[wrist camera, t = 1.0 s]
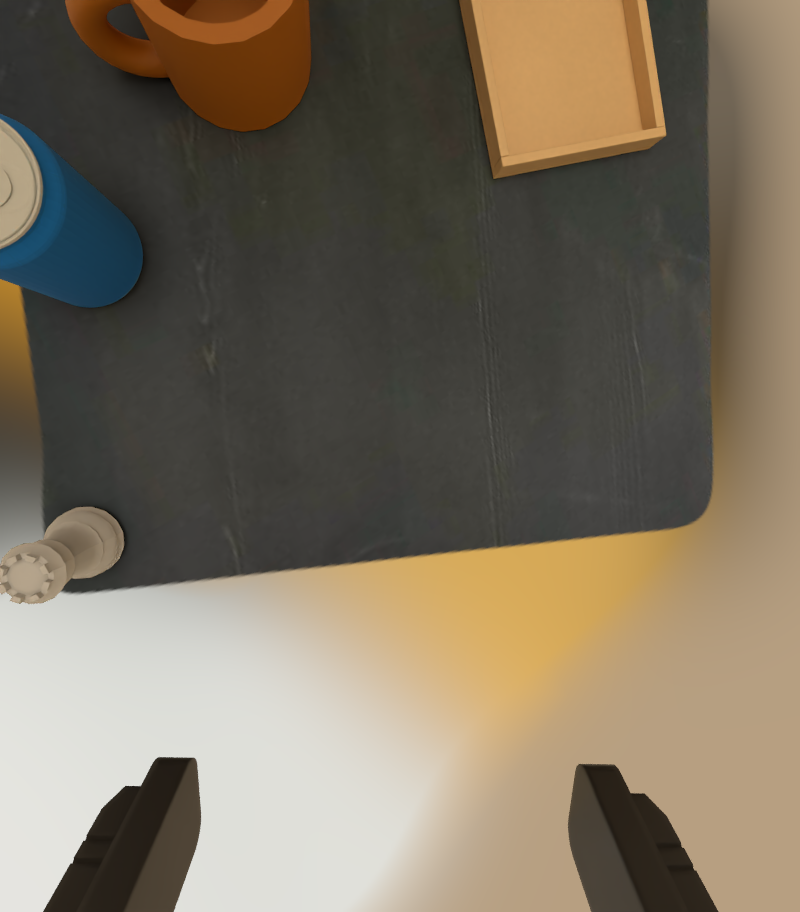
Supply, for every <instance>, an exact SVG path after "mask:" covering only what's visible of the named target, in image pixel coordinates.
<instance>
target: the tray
mask: <svg viewBox="0 0 800 912" xmlns="http://www.w3.org/2000/svg"><path fill="white" fill-rule="evenodd" d="M459 3H460V8H461V13H462V19H463V24H464V29H465V34H466V39H467V44H468V50H469V55H470V60H471V65H472V70H473V75H474V81H475V86H476V91H477V96H478V101H479V106H480V112H481V117H482V122H483V127H484V132H485V137H486V143H487V148H488V153H489V158H490V163H491V168H492V174H493V178H494V179H496V178H501V177H506V176H511V175H517V174H522V173H527V172H532V171H537V170H542V169H547V168H553V167H558V166H563V165H568V164H573V163H578V162H583V161H589V160H594V159H599V158H604V157H609V156H614V155H619V154H625V153H630V152H635V151H640V150H645V149H649V148H650V147H652V146H653V145H654V144H655V143H657V142H658V141H659V140H661V139H662V138H663V137H665V136H666V130H665V122H664V115H663V109H662V102H661V96H660V89H659V82H658V76H657V69H656V63H655V56H654V50H653V43H652V36H651V30H650V23H649V17H648V10H647V3H646V0H459Z"/></svg>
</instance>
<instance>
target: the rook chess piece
mask: <svg viewBox="0 0 800 912" xmlns="http://www.w3.org/2000/svg"><path fill="white" fill-rule="evenodd" d="M123 548H124V537H123V531H122V529H121V527H120V526H119V524H118V522H117V520H116V519H114V518H113V517H112V516H111V515H110V514H108V513H107V512H106V511H103V510H100V509H97V508H94V507H77V508H74V509H72V510H70V511H68V512H65V513H63V514H62V515H61V516H59V517H57V518H56V519H55V520H54V522H53V523H52V524H51V525H50V526H49V527H48V528H47V530H46V533H45V536H44V538H43V540H39V541H37V542H34V543H24V544H21V545H19V546H16V547H14V548H12V549H11V550H10V551H9V552H8V553H7V554H6V555H5V556H4V557H3V558H2V561H1V564H0V582H1V584H0V593H1V594H3V593H5V592H7V593H8V594H9V595H11V596H12V598H11V600H10V601H12V602H16V603H19V604H20V603H22V602H25V603H28V604H35V603H44V602H46V601H48V600H50V599H53V598H54V597H55V596H56V595H57V594H58V593H59V592H60V591H61V590H62V589H63V587H64V585H65V584H66V583H67V582H68V581H69V580H70V579H71V578H74V579H76V578H91V577H93V576H95V575H98V574H100V573H102V572H104V571H105V570H107V569H110V568H111V567H112V566H113V565H114V564H115V563H116V562H117V561H118V559H119V558H120V556H121V553H122V550H123Z"/></svg>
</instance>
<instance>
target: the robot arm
mask: <svg viewBox="0 0 800 912" xmlns="http://www.w3.org/2000/svg"><path fill="white" fill-rule="evenodd" d="M568 821H569V822H568V831H569V840H570V846H571V851H572V854H573V858H574V861H575V864H576V867H577V870H578V873H579V876H580V879H581V882H582V885H583V888H584V891H585V894H586V897H587V900H588V903H589V906H590V909H591V912H718V910H717V908H716V907H715V905H714V903H713V901H712V899H711V898H710V896H709V894H708V892H707V890H706V888H705V886H704V884H703V882H702V881H701V879H700V877H699V875H698V873H697V871H694V869H693V864H692V862H691V860H690V859H689V857H688V855H687V853H686V851H685V849H684V848H682V847H681V842H680V840H679V838H678V836H677V834H676V833H675V831H674V829H673V827H672V825H671V823H670V822H669V820H668V818H667V816H666V815H665V814H664V813H663V812H662V811H661V810H660V809H659V808H658V807H657V806H656V805H655V804H654V803H653V802H652V801H651V800H650V799H649V798H648V797H647V796H646V795H645V794H633V793H630V791H629V789H628V787H627V785H626V783H625V781H624V779H623V777H622V775H621V773H620V771H619V769H618V768H617V767H616V766H615V765H606V764H602V765H601V764H597V765H596V764H579V765H578V766H577V768H576V771H575V778H574V785H573V792H572V799H571V806H570V812H569V820H568ZM200 825H201V808H200V796H199V782H198V770H197V762H196V759H195V758H173V757H171V758H170V757H169V758H168V757H167V758H166V757H159V758H157V759H156V760H155V761H154V762H153V764H152V766H151V768H150V770H149V772H148V773H147V775H146V778H145V779H144V781H143V783H142V785H141V786H125V787H124V788H123V789H122V790H121V791H120V792H119V793H118V794H117V795H116V796H115V797H113V799H111V800H110V801H109V802H108V803H107V804H106V805H105V806H104V807H103V808H102V809H101V811H100V813H99V815H98V816H97V818H96V820H95V822H94V823H93V825H92V827H91V829H90V830H89V832H88V834H87V837H86V840H85V841H83V843H82V845H81V846H80V848H79V850H78V852H77V853H76V855H75V857H74V861H73V863H72V864H70V866H69V867H68V869H67V871H66V873H65V874H64V876H63V878H62V880H61V882H60V883H59V885H58V887H57V888H56V890H55V892H54V894H53V896H52V897H51V899H50V901H49V902H48V904H47V906H46V908H45V909H44V911H43V912H174V909H175V906H176V903H177V900H178V898H179V895H180V892H181V889H182V886H183V884H184V881H185V878H186V875H187V872H188V869H189V867H190V864H191V861H192V858H193V855H194V852H195V850H196V846H197V842H198V838H199V832H200Z"/></svg>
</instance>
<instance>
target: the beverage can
mask: <svg viewBox="0 0 800 912" xmlns="http://www.w3.org/2000/svg"><path fill="white" fill-rule="evenodd" d="M142 263H143V251H142V245H141V241H140V238H139V235H138V233H137V231H136V229H135V227H134V225H133V224H132V223H131V221H130V220H129V219H128V218H127V216H126V215H125V214H124V213H123V212H121V211H120V210H119V209H118V208H117V207H116V206H115V205H114V204H113V203H111V202H110V201H109V200H108V199H107V198H106V197H105V196H104V195H103V194H101V193H100V192H99V191H98V190H97V189H96V188H95V187H94V186H93V185H91V184H90V183H89V182H88V181H87V180H86V179H85V178H84V177H83V176H81V175H80V174H79V173H78V172H77V171H76V170H75V169H74V168H73V167H71V166H70V165H69V164H68V163H67V162H66V161H65V160H64V159H63V158H62V157H60V156H59V155H58V154H57V153H56V152H55V151H54V150H53V149H52V148H50V147H49V146H48V145H47V144H46V143H45V142H44V141H43V140H42V139H40V138H39V137H38V136H37V135H36V134H35V133H34V132H33V131H31V130H30V129H28V128H27V127H26V126H24V125H23V124H21V123H19V122H17V121H15V120H14V119H11V118H9V117H6V116H4V115H2V114H0V279H2V280H5V281H8V282H11V283H13V284H16V285H19V286H22V287H24V288H27V289H30V290H33V291H35V292H38V293H41V294H44V295H46V296H49V297H52V298H55V299H57V300H60V301H63V302H66V303H69V304H71V305H75V306H79V307H87V308H91V307H101V306H105V305H109V304H111V303H114V302H116V301H118V300H119V299H121V298H122V297H124V296H125V295H126V294H127V293H128V292H129V291H130V290H131V289H132V288H133V286H134V285H135V283H136V282H137V280H138V278H139V275H140V272H141V269H142Z"/></svg>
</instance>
